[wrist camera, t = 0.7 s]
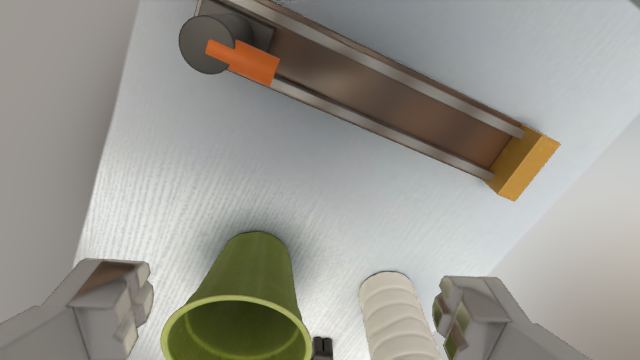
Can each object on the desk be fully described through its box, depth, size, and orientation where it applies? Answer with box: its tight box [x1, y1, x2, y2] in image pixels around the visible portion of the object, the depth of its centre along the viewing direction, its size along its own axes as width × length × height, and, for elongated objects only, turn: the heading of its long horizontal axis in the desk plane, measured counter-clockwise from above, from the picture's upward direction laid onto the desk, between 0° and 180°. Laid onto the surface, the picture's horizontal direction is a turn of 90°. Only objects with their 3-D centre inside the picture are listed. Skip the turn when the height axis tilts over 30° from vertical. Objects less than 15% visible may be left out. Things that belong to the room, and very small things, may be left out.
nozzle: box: [179, 0, 280, 87], centre depth 21 cm, size 6×3×10 cm, turn 66°
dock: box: [482, 124, 560, 201], centre depth 30 cm, size 2×6×3 cm, turn 156°
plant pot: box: [161, 232, 312, 360], centre depth 32 cm, size 12×12×11 cm
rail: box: [194, 0, 541, 181], centre depth 28 cm, size 31×6×3 cm, turn 66°
